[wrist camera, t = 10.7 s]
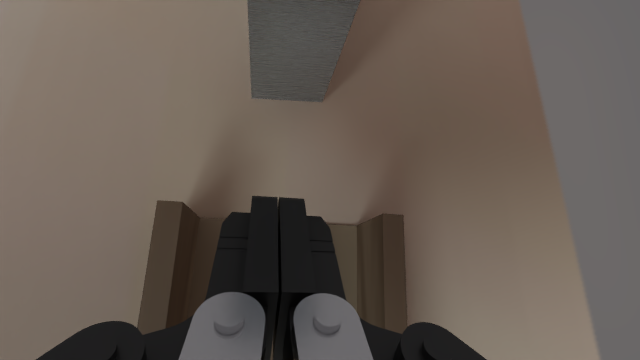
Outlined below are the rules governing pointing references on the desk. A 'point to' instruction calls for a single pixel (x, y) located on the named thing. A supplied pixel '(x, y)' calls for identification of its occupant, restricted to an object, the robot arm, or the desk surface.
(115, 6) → the desk surface
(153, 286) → the walnut box
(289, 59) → the grey rectangular block
